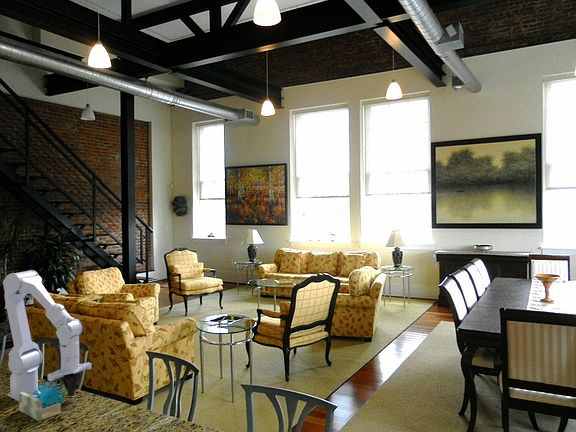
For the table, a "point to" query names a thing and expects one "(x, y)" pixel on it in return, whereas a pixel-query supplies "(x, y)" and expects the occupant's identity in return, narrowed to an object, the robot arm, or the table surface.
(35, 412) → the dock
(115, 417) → the table surface
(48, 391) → the gear
